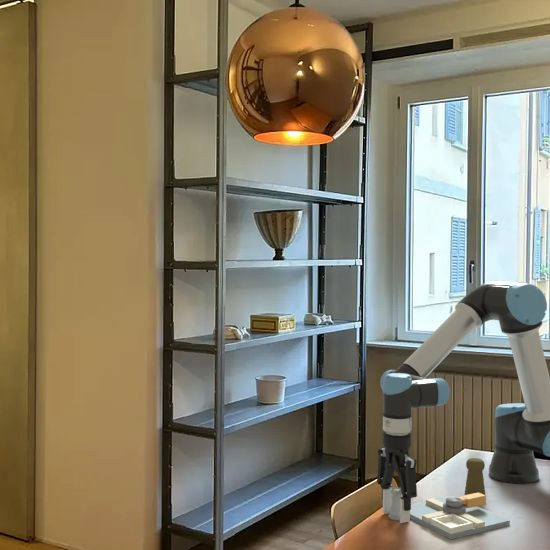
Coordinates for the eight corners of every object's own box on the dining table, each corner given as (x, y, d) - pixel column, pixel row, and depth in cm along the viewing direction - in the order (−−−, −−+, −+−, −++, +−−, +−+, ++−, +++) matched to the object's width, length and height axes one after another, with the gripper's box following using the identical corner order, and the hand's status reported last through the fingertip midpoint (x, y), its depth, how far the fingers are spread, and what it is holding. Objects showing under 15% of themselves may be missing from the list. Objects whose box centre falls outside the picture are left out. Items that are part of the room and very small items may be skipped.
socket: (452, 519, 190) (452, 513, 190) (473, 528, 184) (473, 522, 184) (431, 524, 187) (431, 518, 187) (450, 534, 180) (450, 528, 180)
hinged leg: (453, 512, 191) (453, 503, 191) (442, 507, 194) (442, 498, 194) (487, 505, 196) (488, 496, 196) (476, 500, 200) (476, 491, 200)
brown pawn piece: (486, 500, 208) (487, 462, 208) (464, 498, 210) (465, 461, 209) (484, 493, 214) (485, 456, 214) (463, 492, 215) (464, 455, 215)
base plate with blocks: (451, 499, 209) (451, 487, 209) (509, 524, 190) (509, 511, 190) (396, 511, 200) (396, 498, 199) (451, 539, 180) (451, 525, 180)
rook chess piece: (394, 522, 192) (394, 492, 191) (384, 516, 196) (385, 487, 195) (408, 519, 193) (408, 489, 193) (398, 514, 198) (399, 485, 197)
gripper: (363, 425, 201) (363, 507, 201) (409, 442, 183) (408, 532, 184) (385, 422, 204) (385, 503, 205) (432, 438, 187) (431, 527, 188)
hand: (396, 516), depth 194 cm, fingers open, 7 cm apart
